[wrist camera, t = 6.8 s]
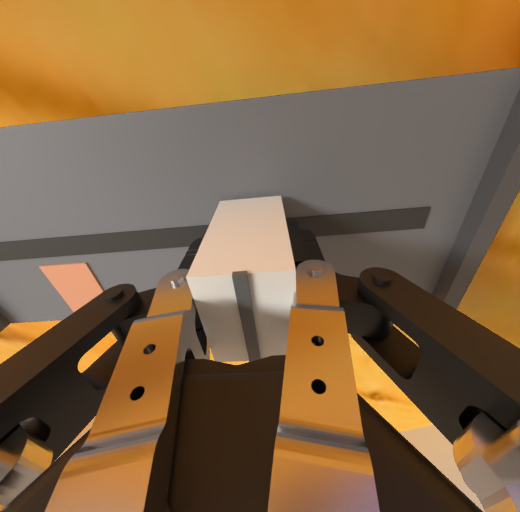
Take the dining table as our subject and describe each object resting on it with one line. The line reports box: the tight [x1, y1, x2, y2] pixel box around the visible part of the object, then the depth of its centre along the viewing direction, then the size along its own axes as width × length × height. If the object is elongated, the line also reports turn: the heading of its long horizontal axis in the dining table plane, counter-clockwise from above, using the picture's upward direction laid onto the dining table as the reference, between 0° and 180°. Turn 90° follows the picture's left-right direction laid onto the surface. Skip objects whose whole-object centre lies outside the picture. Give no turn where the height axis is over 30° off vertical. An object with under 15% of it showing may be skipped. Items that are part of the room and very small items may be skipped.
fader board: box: [0, 68, 520, 332], centre depth 14 cm, size 32×13×3 cm, turn 95°
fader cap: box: [186, 196, 296, 362], centre depth 10 cm, size 3×4×6 cm
